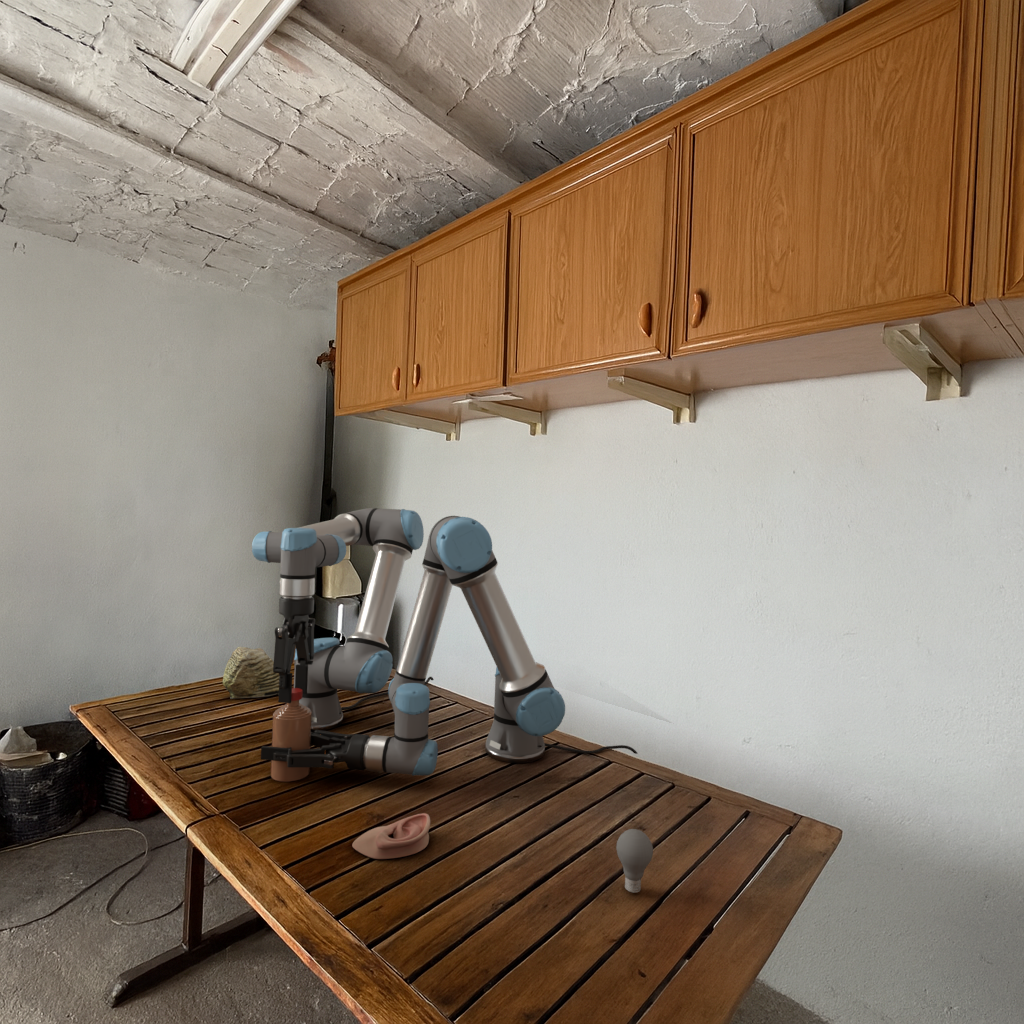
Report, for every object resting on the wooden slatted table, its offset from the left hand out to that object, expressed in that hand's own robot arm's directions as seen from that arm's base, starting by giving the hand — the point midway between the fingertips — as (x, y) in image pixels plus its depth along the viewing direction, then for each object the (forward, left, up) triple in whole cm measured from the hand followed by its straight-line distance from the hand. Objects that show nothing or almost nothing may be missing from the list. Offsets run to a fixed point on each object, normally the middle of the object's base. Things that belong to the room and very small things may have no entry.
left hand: (293, 697), depth 144 cm
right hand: (+3, -4, -11) cm, 12 cm away
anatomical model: (+4, +39, -17) cm, 43 cm away
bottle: (0, 0, -17) cm, 17 cm away
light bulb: (-14, +79, -17) cm, 82 cm away
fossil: (-23, -57, -17) cm, 64 cm away
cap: (0, 0, +1) cm, 1 cm away
